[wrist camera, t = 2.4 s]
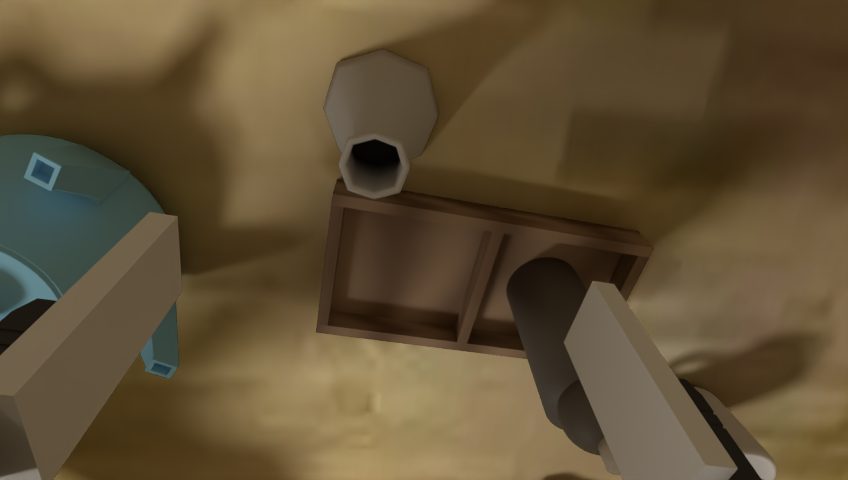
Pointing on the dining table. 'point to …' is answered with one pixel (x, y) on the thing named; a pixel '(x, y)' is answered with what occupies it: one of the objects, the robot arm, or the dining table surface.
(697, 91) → the dining table surface
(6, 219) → the teapot
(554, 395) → the pepper mill
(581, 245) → the caddy
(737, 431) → the cup
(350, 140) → the flask
